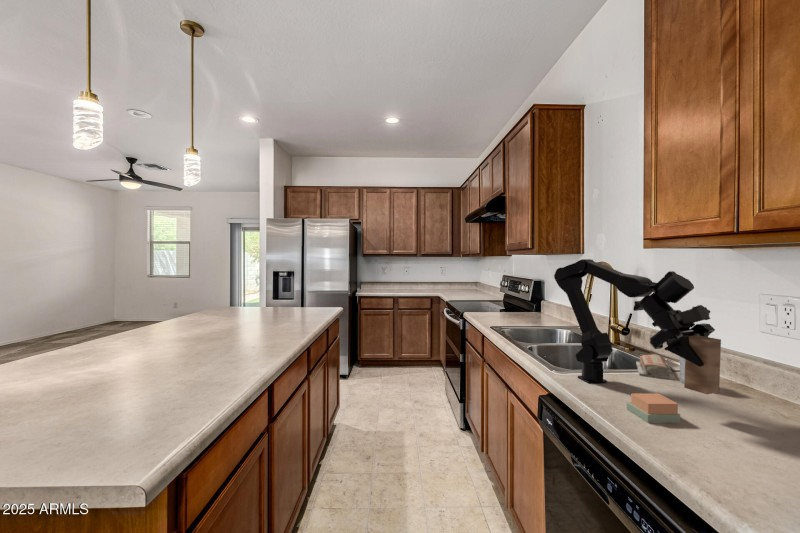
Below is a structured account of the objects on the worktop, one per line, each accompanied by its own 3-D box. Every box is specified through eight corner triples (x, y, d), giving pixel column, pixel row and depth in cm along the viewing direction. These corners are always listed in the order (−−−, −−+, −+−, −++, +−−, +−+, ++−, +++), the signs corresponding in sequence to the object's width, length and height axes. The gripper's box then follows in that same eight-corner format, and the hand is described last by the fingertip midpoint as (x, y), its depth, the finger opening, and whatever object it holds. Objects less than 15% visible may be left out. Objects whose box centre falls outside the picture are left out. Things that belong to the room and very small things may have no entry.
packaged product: (675, 366, 121) (639, 363, 126) (675, 381, 121) (639, 377, 126) (667, 354, 137) (635, 351, 142) (667, 367, 137) (635, 364, 142)
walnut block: (684, 387, 94) (686, 336, 94) (696, 385, 96) (698, 335, 96) (706, 394, 89) (708, 340, 89) (719, 391, 91) (720, 339, 91)
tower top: (631, 402, 97) (631, 393, 97) (658, 403, 97) (658, 393, 97) (648, 413, 90) (648, 403, 90) (677, 414, 90) (677, 403, 90)
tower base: (626, 412, 97) (626, 402, 97) (656, 411, 98) (656, 402, 98) (647, 425, 89) (647, 415, 89) (680, 424, 90) (680, 414, 90)
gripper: (662, 296, 92) (714, 350, 82) (706, 293, 100) (758, 342, 90) (631, 323, 99) (675, 375, 90) (674, 318, 107) (719, 366, 97)
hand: (708, 364), depth 91 cm, fingers closed on walnut block, 5 cm apart
